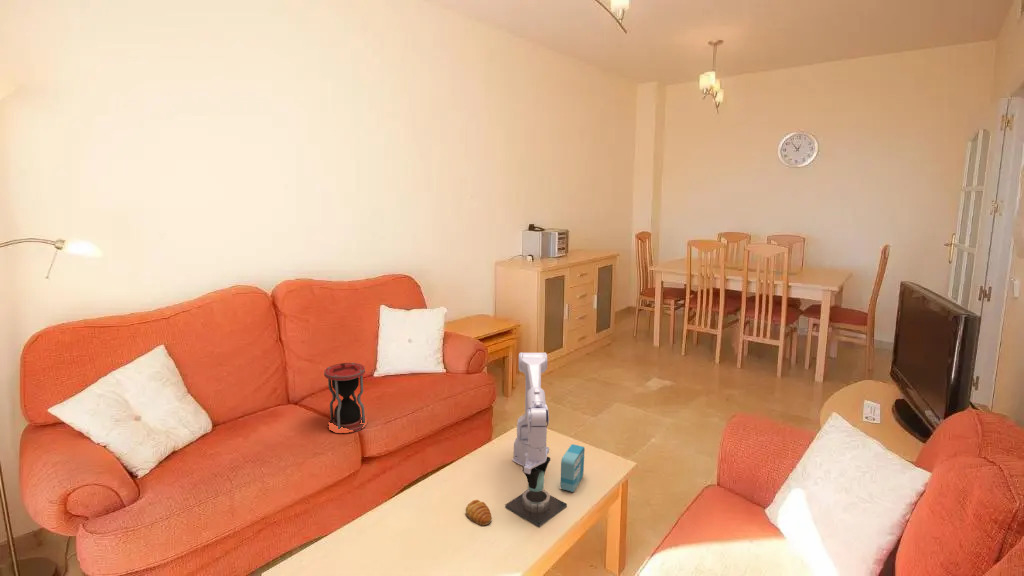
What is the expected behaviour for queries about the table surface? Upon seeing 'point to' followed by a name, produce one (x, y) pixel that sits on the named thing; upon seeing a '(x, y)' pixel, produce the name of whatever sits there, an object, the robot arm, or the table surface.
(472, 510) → the pastry
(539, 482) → the teal rounded cylinder
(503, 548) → the table surface
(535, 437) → the robot arm
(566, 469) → the data package
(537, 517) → the square base ring holder
